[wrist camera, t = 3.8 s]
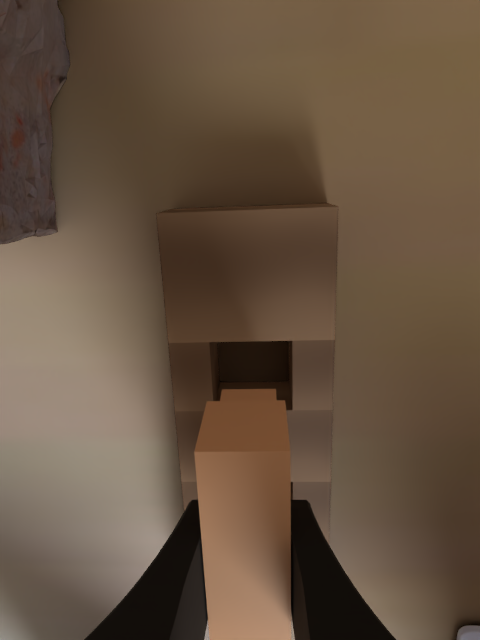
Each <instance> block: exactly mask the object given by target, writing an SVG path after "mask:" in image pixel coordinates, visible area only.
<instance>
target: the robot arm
mask: <svg viewBox="0 0 480 640" xmlns="http://www.w3.org/2000/svg"><path fill="white" fill-rule="evenodd" d="M291 614H292V621H293V628H294V635H295V640H396V639H395V638H394V637H393V636H392V635H391V633H390V632H389V631H388V630H387V629H386V627H385V626H384V625H383V624H382V622H381V621H380V620H379V619H378V618H377V616H376V615H375V614H374V613H373V611H372V610H371V609H370V607H369V606H368V605H367V603H366V602H365V601H364V599H363V598H362V597H361V595H360V594H359V592H358V591H357V589H356V588H355V587H354V585H353V584H352V582H351V581H350V579H349V577H348V576H347V574H346V573H345V571H344V570H343V568H342V567H341V565H340V563H339V562H338V560H337V558H336V556H335V555H334V553H333V551H332V549H331V548H330V546H329V544H328V542H327V541H326V539H325V537H324V535H323V533H322V531H321V529H320V527H319V525H318V522H317V520H316V518H315V516H314V513H313V511H312V508H311V505H310V503H309V502H308V501H307V500H291ZM207 621H208V612H207V600H206V588H205V576H204V564H203V552H202V540H201V528H200V515H199V503H198V500H191V501H190V502H189V504H188V506H187V508H186V510H185V511H184V513H183V515H182V517H181V519H180V520H179V522H178V524H177V525H176V527H175V529H174V530H173V532H172V534H171V535H170V537H169V538H168V540H167V541H166V543H165V544H164V546H163V547H162V549H161V550H160V552H159V553H158V555H157V556H156V558H155V559H154V560H153V562H152V563H151V564H150V566H149V567H148V568H147V570H146V571H145V572H144V574H143V575H142V577H141V578H140V579H139V580H138V582H137V583H136V584H135V585H134V587H133V588H132V589H131V590H130V591H129V593H128V594H127V595H126V596H125V597H124V599H123V600H122V601H121V602H120V603H119V604H118V605H117V606H116V608H115V609H114V610H113V611H112V612H111V613H110V614H109V615H108V616H107V617H106V618H105V619H104V620H103V621H102V622H101V623H100V624H99V626H98V627H97V628H96V629H95V630H94V631H93V632H92V633H91V634H89V635H88V636H87V637H86V638H85V639H84V640H204V637H205V631H206V626H207ZM457 640H480V626H474V625H467V626H463V627H461V628H460V629H459V631H458V634H457Z"/></svg>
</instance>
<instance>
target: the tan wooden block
mask: <svg viewBox="0 0 480 640" xmlns="http://www.w3.org/2000/svg"><path fill="white" fill-rule="evenodd" d="M194 455H195V467H196V479H197V491H198V503H199V515H200V528H201V540H202V552H203V564H204V576H205V588H206V600H207V612H208V625H209V637H210V640H291V469H290V442H289V433H288V423H287V414H286V404H285V400H277V398H276V389H222V392H221V397H220V401H207V402H206V407H205V411H204V415H203V419H202V423H201V427H200V431H199V435H198V439H197V443H196V447H195V451H194Z"/></svg>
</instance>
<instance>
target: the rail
mask: <svg viewBox="0 0 480 640" xmlns="http://www.w3.org/2000/svg"><path fill="white" fill-rule="evenodd" d="M156 217H157V228H158V238H159V249H160V260H161V270H162V281H163V292H164V302H165V313H166V323H167V334H168V345H169V355H170V366H171V377H172V387H173V398H174V409H175V419H176V430H177V441H178V451H179V462H180V473H181V483H182V494H183V504H184V511H185V510H186V508H187V506H188V504H189V502H190V501H191V500H198V491H197V479H196V467H195V455H194V451H195V447H196V443H197V439H198V435H199V431H200V427H201V423H202V419H203V415H204V411H205V407H206V402H207V401H220V397H221V392H222V389H276V398H277V400H285V404H286V414H287V423H288V433H289V442H290V469H291V500H307V501H308V502H309V503H310V505H311V508H312V511H313V513H314V516H315V518H316V520H317V522H318V525H319V527H320V529H321V531H322V533H323V535H324V537H325V539H326V541H327V542H328V544H329V531H330V495H331V459H332V423H333V387H334V351H335V314H336V278H337V242H338V206H335V205H332V204H329V203H319V204H292V205H266V206H239V207H213V208H186V209H170V210H166V211H163V212H159V213H156ZM247 341H289V382H220V376H219V359H218V342H247ZM291 620H292V614H291Z"/></svg>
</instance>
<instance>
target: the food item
mask: <svg viewBox="0 0 480 640" xmlns="http://www.w3.org/2000/svg"><path fill="white" fill-rule="evenodd" d="M69 67H70V61H69V51H68V49H67V47H66V41H65V30H64V18H63V16H62V14H61V12H60V10H59V8H58V2H57V0H0V244H7V243H11V242H15V241H19V240H21V239H24V238H27V237H31V236H37V237H39V236H45V235H50V234H53V233H56V232H58V230H57V223H56V215H55V198H54V194H53V189H52V183H51V164H50V159H51V152H52V147H53V138H52V123H51V115H50V107H51V105H52V103H53V100H54V98H55V97H56V95H57V93H58V92H59V90H60V89H61V87H62V85H63V84H64V82H65V81H66V79H67V76H66V75H67V72H68V69H69Z"/></svg>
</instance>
